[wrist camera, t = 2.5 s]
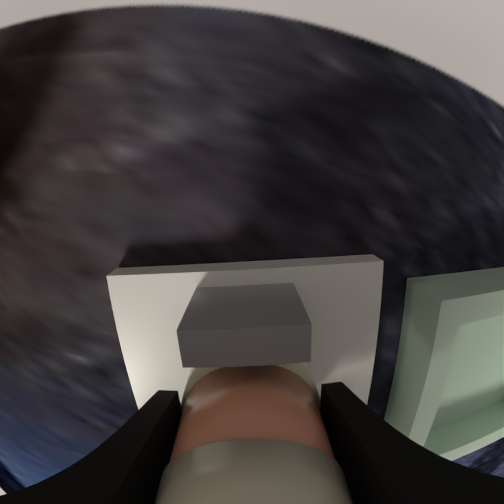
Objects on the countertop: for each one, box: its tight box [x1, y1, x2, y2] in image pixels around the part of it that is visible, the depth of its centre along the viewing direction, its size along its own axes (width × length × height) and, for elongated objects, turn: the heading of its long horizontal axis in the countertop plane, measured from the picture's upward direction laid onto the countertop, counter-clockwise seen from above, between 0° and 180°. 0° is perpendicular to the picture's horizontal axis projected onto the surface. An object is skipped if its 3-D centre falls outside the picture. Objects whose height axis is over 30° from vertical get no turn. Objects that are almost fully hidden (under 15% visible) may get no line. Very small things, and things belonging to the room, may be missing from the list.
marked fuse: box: [155, 362, 353, 504], centre depth 7 cm, size 4×4×7 cm
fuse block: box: [107, 254, 384, 409], centre depth 11 cm, size 17×9×4 cm, turn 3°
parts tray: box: [384, 267, 504, 461], centre depth 11 cm, size 9×9×2 cm
